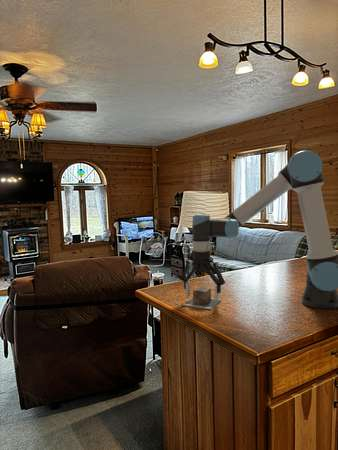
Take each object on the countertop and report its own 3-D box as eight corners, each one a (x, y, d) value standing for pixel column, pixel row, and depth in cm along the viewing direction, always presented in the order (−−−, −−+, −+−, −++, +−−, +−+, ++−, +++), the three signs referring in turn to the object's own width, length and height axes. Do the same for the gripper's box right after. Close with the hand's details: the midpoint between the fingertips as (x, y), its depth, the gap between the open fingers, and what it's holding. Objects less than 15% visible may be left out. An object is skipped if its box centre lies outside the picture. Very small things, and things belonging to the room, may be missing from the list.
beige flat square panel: (237, 305, 145) (237, 304, 145) (231, 312, 137) (231, 311, 137) (217, 302, 149) (217, 302, 149) (210, 309, 141) (210, 308, 141)
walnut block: (211, 301, 149) (210, 288, 148) (206, 305, 144) (205, 291, 143) (198, 299, 152) (198, 286, 151) (193, 303, 146) (192, 290, 146)
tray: (221, 301, 150) (221, 299, 150) (210, 311, 139) (210, 308, 139) (194, 298, 156) (194, 296, 156) (182, 306, 145) (182, 304, 145)
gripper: (232, 250, 143) (232, 299, 145) (179, 247, 155) (180, 292, 157) (226, 253, 136) (226, 304, 138) (171, 250, 148) (172, 297, 150)
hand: (202, 298), depth 147 cm, fingers open, 13 cm apart
